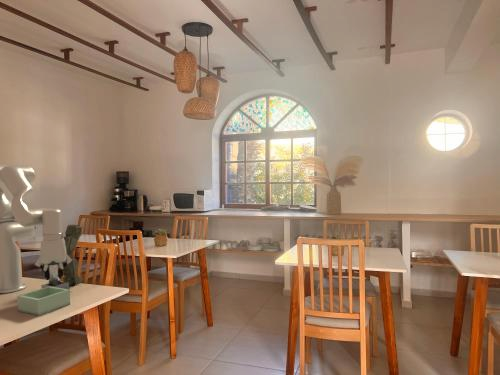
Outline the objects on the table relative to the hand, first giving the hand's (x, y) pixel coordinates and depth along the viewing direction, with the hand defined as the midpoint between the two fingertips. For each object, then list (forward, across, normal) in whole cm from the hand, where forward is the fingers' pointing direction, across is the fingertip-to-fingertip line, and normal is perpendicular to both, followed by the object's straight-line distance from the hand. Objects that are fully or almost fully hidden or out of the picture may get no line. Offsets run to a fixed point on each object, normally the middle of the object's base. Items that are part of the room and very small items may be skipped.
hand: (54, 278), depth 156 cm
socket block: (+7, 0, 0) cm, 7 cm away
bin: (+7, +2, +16) cm, 18 cm away
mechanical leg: (+8, -6, -15) cm, 18 cm away
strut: (+3, 0, 0) cm, 3 cm away
